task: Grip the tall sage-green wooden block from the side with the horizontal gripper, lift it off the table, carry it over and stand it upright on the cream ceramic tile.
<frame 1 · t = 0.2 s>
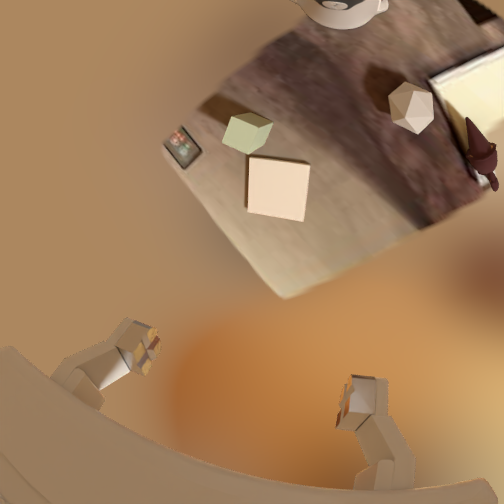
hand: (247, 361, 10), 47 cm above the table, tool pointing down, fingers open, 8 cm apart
cream tile: (278, 188, 56), on the table
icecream: (474, 149, 38), on the table
die: (407, 106, 40), on the table
green block: (257, 128, 51), on the table
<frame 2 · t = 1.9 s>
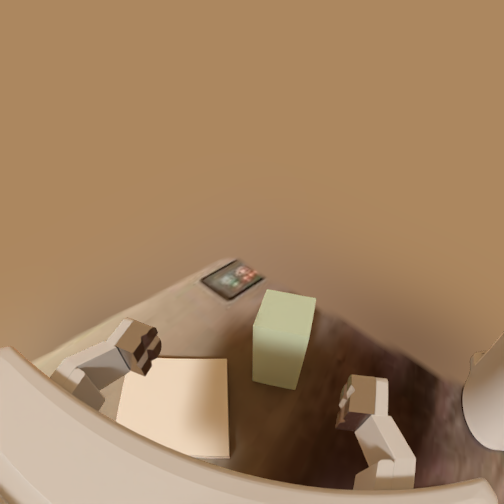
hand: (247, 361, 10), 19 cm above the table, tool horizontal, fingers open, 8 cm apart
cream tile: (173, 407, 26), on the table
green block: (278, 368, 31), on the table
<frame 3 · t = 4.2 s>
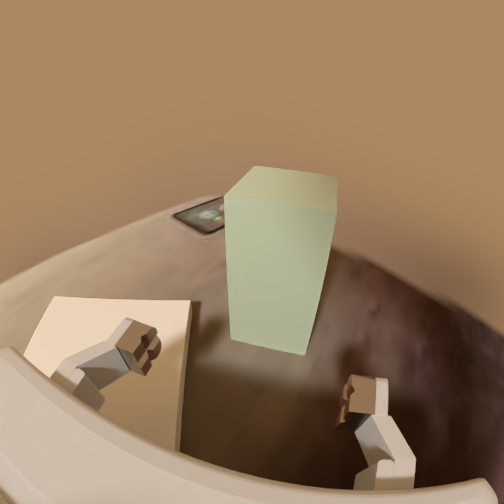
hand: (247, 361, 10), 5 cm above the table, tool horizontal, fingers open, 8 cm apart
cream tile: (96, 374, 15), on the table
green block: (276, 320, 19), on the table
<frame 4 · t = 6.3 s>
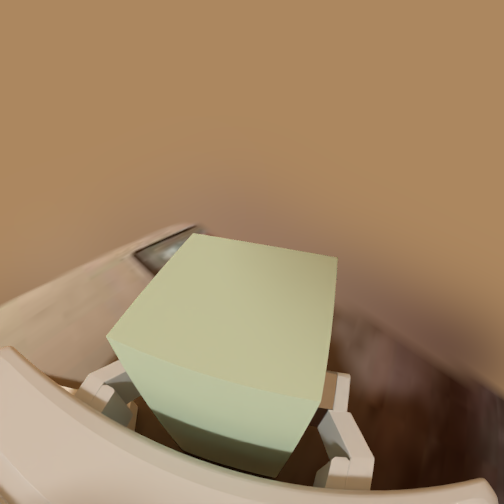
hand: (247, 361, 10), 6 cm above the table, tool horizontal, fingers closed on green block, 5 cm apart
green block: (242, 427, 13), on the table, touching gripper
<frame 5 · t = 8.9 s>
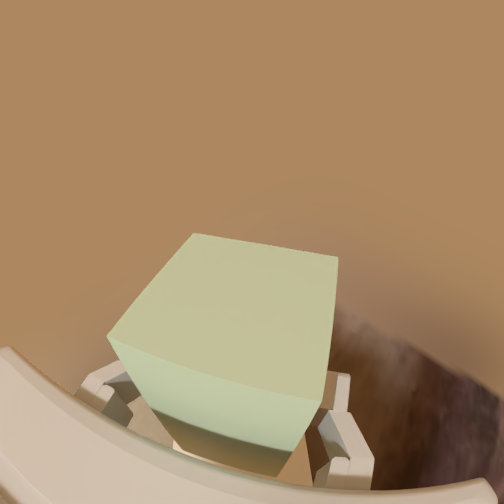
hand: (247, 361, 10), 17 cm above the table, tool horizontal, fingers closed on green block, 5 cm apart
cream tile: (240, 468, 19), on the table
green block: (242, 426, 13), point 12 cm above the table, touching gripper
when the fingers open (8 cm above the table, at t = 11.6 s): green block drops 1 cm, resting on cream tile.
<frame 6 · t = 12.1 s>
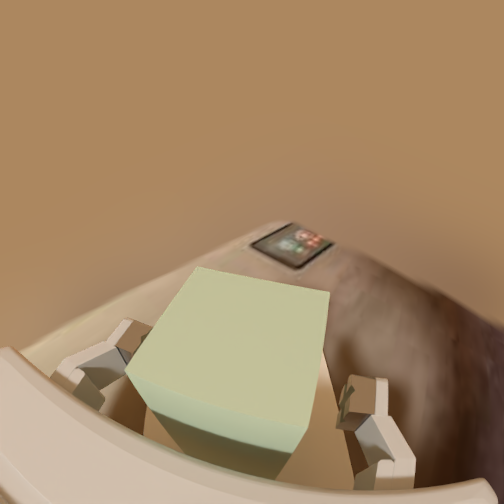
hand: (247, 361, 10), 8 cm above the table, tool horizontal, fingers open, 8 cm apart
cream tile: (243, 439, 14), on the table
green block: (242, 434, 14), point 1 cm above the table, touching cream tile
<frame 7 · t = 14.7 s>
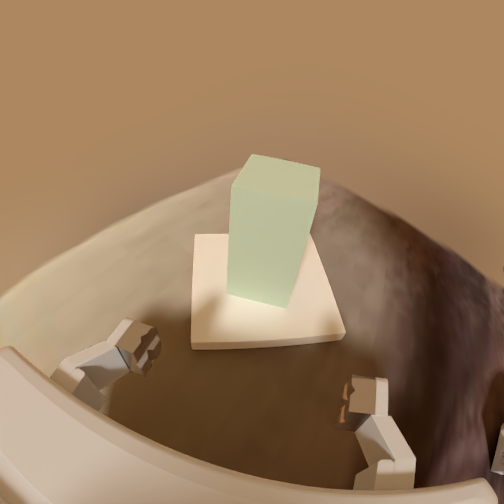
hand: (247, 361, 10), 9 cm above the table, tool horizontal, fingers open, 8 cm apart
cream tile: (260, 287, 25), on the table
die: (502, 450, 12), on the table
green block: (262, 279, 24), point 1 cm above the table, touching cream tile
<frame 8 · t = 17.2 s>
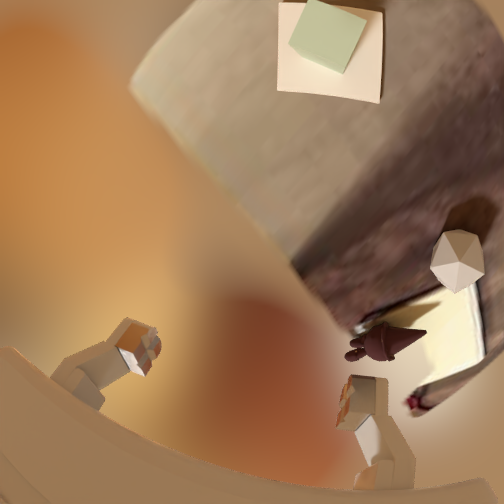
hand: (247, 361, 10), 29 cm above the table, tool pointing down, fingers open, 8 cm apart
cream tile: (330, 49, 25), on the table
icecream: (384, 327, 45), on the table
die: (450, 244, 33), on the table
green block: (330, 48, 24), point 1 cm above the table, touching cream tile
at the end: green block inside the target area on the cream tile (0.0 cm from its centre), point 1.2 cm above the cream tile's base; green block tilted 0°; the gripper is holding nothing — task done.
